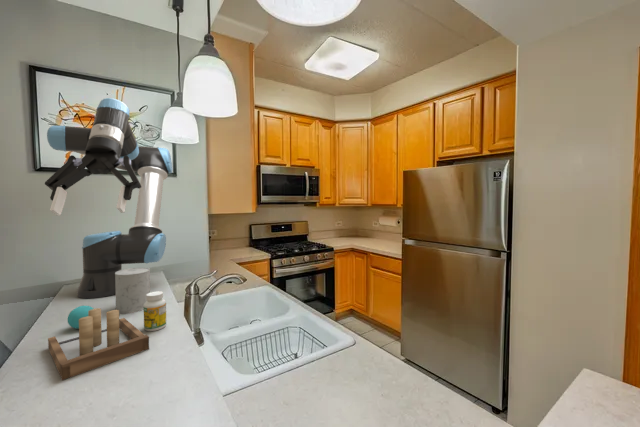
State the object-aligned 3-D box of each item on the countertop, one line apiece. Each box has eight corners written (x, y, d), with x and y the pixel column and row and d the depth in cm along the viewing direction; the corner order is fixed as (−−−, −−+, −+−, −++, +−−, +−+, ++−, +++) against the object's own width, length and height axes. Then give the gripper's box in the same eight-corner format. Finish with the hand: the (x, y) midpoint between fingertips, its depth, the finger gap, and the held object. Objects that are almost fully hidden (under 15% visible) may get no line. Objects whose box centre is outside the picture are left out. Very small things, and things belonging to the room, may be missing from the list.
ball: (65, 328, 75) (65, 306, 75) (93, 321, 80) (93, 300, 80) (70, 334, 72) (69, 312, 71) (98, 327, 76) (98, 305, 76)
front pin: (87, 344, 67) (87, 310, 66) (100, 340, 69) (99, 307, 68) (90, 347, 65) (89, 312, 65) (102, 344, 67) (102, 309, 67)
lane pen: (48, 348, 65) (48, 336, 65) (124, 326, 77) (124, 316, 76) (62, 380, 53) (61, 365, 53) (149, 348, 65) (148, 336, 65)
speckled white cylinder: (156, 303, 95) (156, 268, 94) (135, 314, 85) (135, 275, 85) (131, 302, 96) (130, 267, 95) (107, 312, 86) (106, 274, 86)
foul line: (54, 344, 67) (54, 343, 67) (117, 326, 77) (117, 325, 77) (54, 345, 66) (54, 344, 66) (118, 327, 76) (118, 326, 76)
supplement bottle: (170, 324, 78) (170, 291, 78) (155, 332, 73) (155, 297, 73) (154, 322, 80) (154, 289, 79) (138, 330, 74) (138, 295, 74)
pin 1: (78, 355, 62) (77, 318, 62) (92, 351, 64) (91, 315, 64) (80, 359, 60) (80, 321, 60) (94, 354, 62) (93, 318, 62)
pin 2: (105, 346, 66) (105, 312, 66) (117, 342, 68) (117, 309, 67) (108, 350, 64) (108, 314, 64) (120, 346, 66) (120, 311, 66)
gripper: (42, 134, 70) (13, 206, 61) (150, 136, 76) (140, 202, 67) (60, 153, 77) (37, 220, 67) (159, 153, 83) (150, 216, 73)
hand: (88, 211), depth 67 cm, fingers open, 13 cm apart
